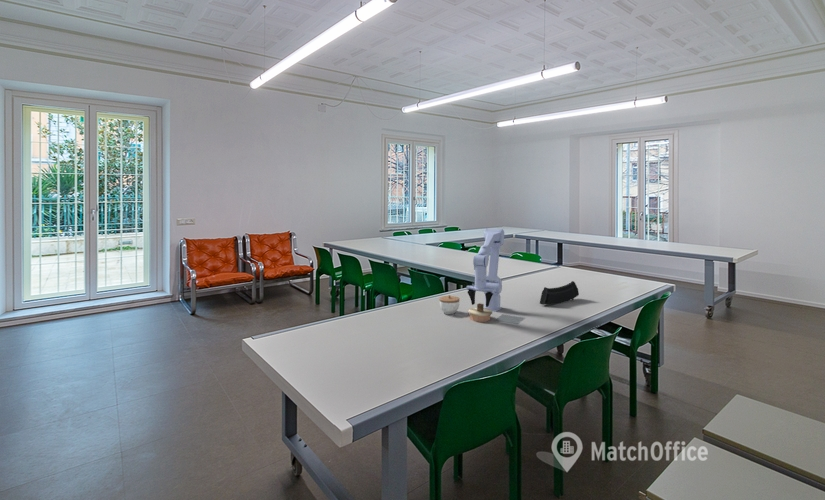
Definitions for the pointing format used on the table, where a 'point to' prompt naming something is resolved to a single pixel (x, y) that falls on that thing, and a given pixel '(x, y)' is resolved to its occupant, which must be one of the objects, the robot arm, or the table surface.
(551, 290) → the magazine
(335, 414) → the table surface
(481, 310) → the lid
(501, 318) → the mat
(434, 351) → the table surface
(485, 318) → the dish
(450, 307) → the lidded jar
